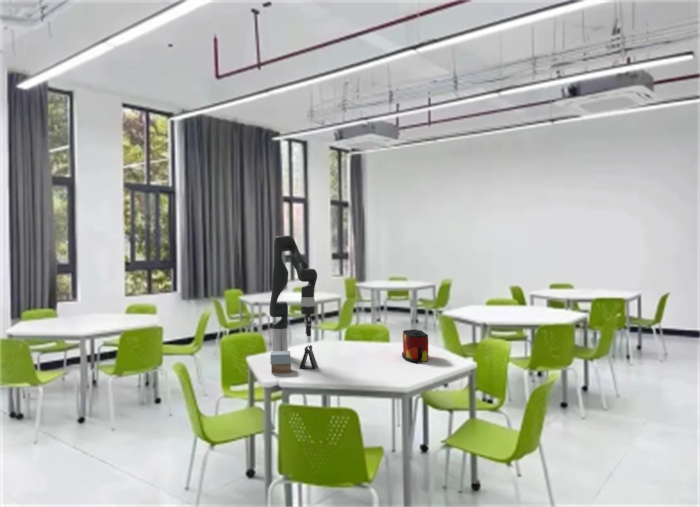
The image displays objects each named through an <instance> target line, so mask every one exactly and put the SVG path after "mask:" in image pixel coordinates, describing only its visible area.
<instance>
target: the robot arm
mask: <svg viewBox="0 0 700 507" xmlns="http://www.w3.org/2000/svg"><path fill="white" fill-rule="evenodd" d="M273 242H274V243H273V271H272V279H271V280H272V281H271V282H272V283H271V294H270V295H271V296H270V302H269V303H270V304H269V316H270V317H271V318H280V319H279V320H277V321H275V322H273V323H272V326H271V327H272V328H271V329H272V330H271V331H272V332H271V334H272V336H271V337H272V338H271V341H272V344H271V345H272V350H271V352H272V351H289V346H288V344H289V343H288V336H289V335H288V333H289V332H288V322H289V320H288V318H289V305H288V302H286V301H278V299H279V296H280V295H281V294H282V292H283V291H284V290H285V288H286V286H287V285H288V282H289V270H288V267H287V266H286V264H285V263H284V261H283V257H282V254H283V252H291V257H290V262H291V265H292V266H293V268H294V269H295V271H296V275H297V278H298V280H299V281H300V282H303V283H307V285H303V286H302V287H301V290H300V291H301V298H300V314H301V315H304V319H303V320H304V327H305V334H306V337H311V336H312V325H313V324H312V321H313V317H312V316H311V315H315V312H316V300H315V289H316V283H317V279H318V273H317V271H316V269H314V268H308V263H307V262H306V260H305V259H304V257H303V256H302V254H301V252H300V250H299V248H298V244H296V241H295V238H294V237H292V236H291V235H278V236H275V238H274V241H273Z"/></svg>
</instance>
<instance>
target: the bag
mask: <svg viewBox="0 0 700 507" xmlns="http://www.w3.org/2000/svg"><path fill="white" fill-rule="evenodd" d="M402 349H403V350H402V352H401V356H402V358H403V359H404V361H406V362H409V363H411V364H420V363H425V362H426V363H427V362H428V361H429V335H428V333H426V332H424V331H423V330H421V329H420V330H419V329H405V330H402Z"/></svg>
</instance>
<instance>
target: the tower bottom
mask: <svg viewBox="0 0 700 507" xmlns="http://www.w3.org/2000/svg"><path fill="white" fill-rule="evenodd" d="M270 366H271V374H272V373H278V374H291V373H292V370H291V369H292V368H291V367H292V363H291V361H290V364H271V363H270Z"/></svg>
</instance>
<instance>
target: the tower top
mask: <svg viewBox="0 0 700 507" xmlns="http://www.w3.org/2000/svg"><path fill="white" fill-rule="evenodd" d="M290 362H291V350H288V351H272V350H271V352H270V365H271V364H290Z"/></svg>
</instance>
